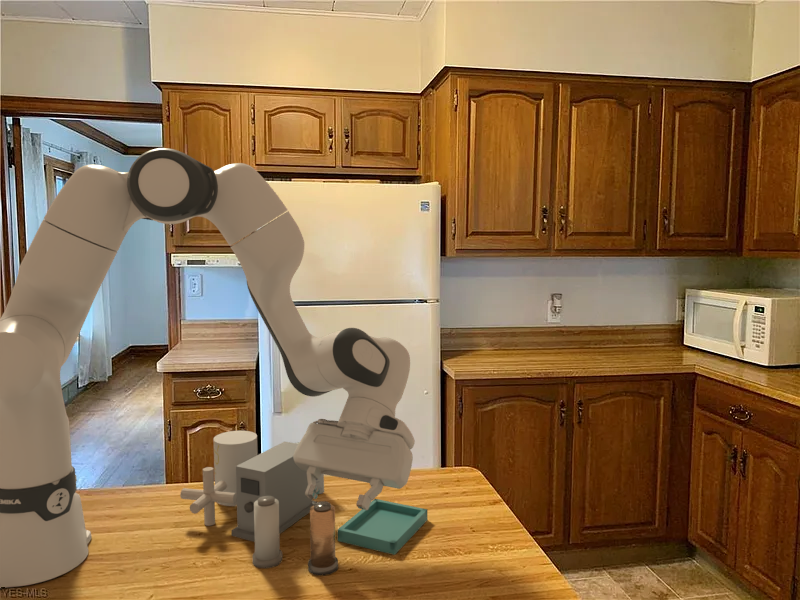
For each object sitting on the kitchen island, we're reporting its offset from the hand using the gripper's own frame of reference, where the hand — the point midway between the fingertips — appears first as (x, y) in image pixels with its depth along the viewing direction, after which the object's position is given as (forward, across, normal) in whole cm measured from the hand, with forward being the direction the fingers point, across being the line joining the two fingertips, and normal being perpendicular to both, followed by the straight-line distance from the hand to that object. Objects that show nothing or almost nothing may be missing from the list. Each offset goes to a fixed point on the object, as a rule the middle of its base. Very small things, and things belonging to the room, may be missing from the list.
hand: (335, 502), depth 101 cm
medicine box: (-8, -19, +21) cm, 29 cm away
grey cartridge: (+10, -9, +2) cm, 14 cm away
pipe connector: (+6, -26, +6) cm, 27 cm away
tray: (-2, +3, +14) cm, 14 cm away
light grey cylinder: (-1, -29, +14) cm, 32 cm away
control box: (+2, -16, +10) cm, 19 cm away
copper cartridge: (+9, 0, +4) cm, 10 cm away
